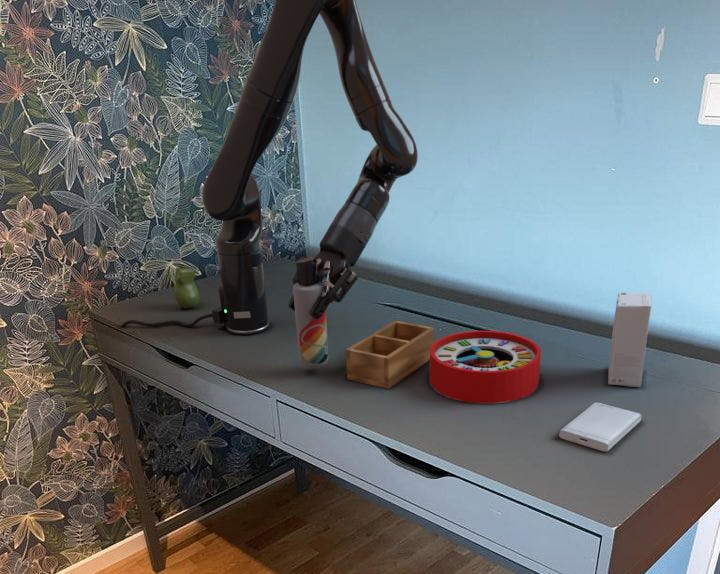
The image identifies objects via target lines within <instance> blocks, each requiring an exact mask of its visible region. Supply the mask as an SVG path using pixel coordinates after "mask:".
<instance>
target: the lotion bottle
mask: <svg viewBox="0 0 720 574" xmlns="http://www.w3.org/2000/svg"><path fill="white" fill-rule="evenodd" d="M315 257H316V256H308V257H304V258H303V257H302V258H300V259H298V260H296V262H295V265H296V271H297V278H298V283H296V284H294V283H293V286H292V290H293V291H292V292H293V293H292V294H294V306H295V311H294V316H295V327H296V328H295V329H296V340H297V349H298V350H297V351H298V352H297V353H298V360H299V361H298V362H299V364H300V365H301V366H303V367H306V368H319V367H323V366H325V365H327V364H328V362H329V341H328V326H327V324H328V323H327V311H326V310H327V309H326V310H325V312H324V314H323V315H322V316H321V317H320V319H319V320H317V319H314V318H313V317H312V316H311V315H310V311H311V309H312V307H313V306H314V304H315V302H316V301H317V299H318V297H319V296H320V297H322V296H321V292H322V287H323V285H322V282H320V281H318V264H317V260H316V259H315Z"/></svg>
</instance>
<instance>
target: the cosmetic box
mask: <svg viewBox="0 0 720 574" xmlns="http://www.w3.org/2000/svg"><path fill="white" fill-rule="evenodd" d="M652 303H653V302H652V294H651V293H647V292H635V293H634V292H618V293H617V299H616V306H615V311H614V319H613V326H612V333H611V334H612V335H611V341H610V342H611V343H610V351H609V357H608V358H609V359H608V372H607V373H608V375H607V377H608V378H607V379H608V380H607V384H608V385H611V386H612V385H613V386H624V387H631V388H641V387H642V379H643V372H644V363H645V357H646V350H647V349H646V348H647V340H648V334H649V327H650V318H651V311H652Z"/></svg>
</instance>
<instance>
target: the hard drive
mask: <svg viewBox="0 0 720 574" xmlns="http://www.w3.org/2000/svg"><path fill="white" fill-rule="evenodd" d="M641 420H642V414H641V413H639V412H635V411H632V410H628V409H625V408H620V407H617V406H613V405H609V404H605V403H601V402H594V403H593V404H591V405H590V406H589V407H587V409H585V410H584V411H583V412H581V413H579V415H578V416H576V417H575V418H574V419H573V420H571V421H570V422H569V423H567V424H566V425H565V426H564V427H563V428H561V429H560V430H559V435H558V436H559V438H560V439H562V440H564V441H568V442H572V443H575V444H577V445H581V446H585V447H588V448H591V449H594V450H597V451H600V452H603V453H604V452H609V451H610V450H611V449H612V448H613V447H614V446H615V445H616V444H618V442H620V441H621V440H622V439H623V438H624V437H625V436H626V435H627V434H629V432H631V430H633V429H634V428H635V427H636V426H637V425H638V424H639V423H640V422H641Z"/></svg>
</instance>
